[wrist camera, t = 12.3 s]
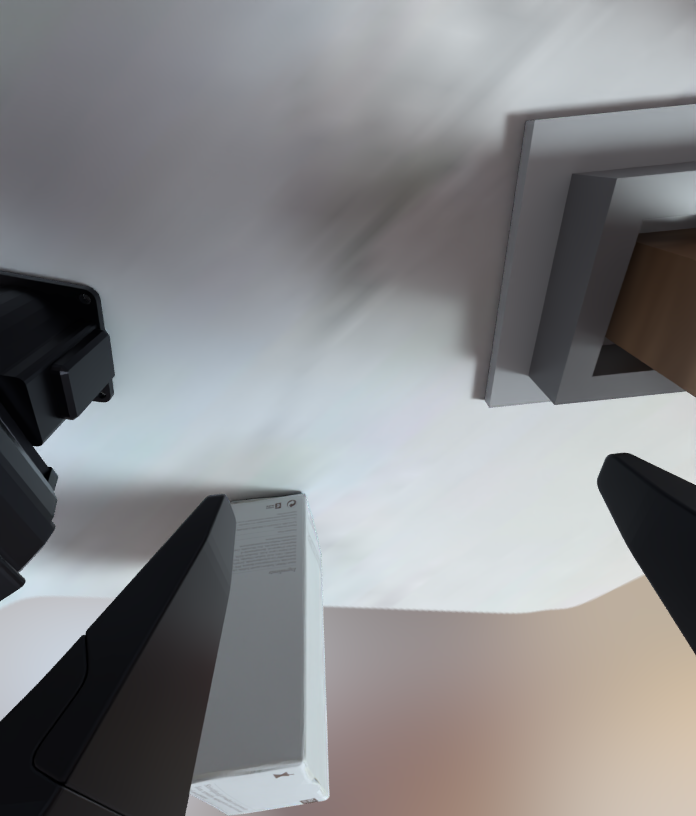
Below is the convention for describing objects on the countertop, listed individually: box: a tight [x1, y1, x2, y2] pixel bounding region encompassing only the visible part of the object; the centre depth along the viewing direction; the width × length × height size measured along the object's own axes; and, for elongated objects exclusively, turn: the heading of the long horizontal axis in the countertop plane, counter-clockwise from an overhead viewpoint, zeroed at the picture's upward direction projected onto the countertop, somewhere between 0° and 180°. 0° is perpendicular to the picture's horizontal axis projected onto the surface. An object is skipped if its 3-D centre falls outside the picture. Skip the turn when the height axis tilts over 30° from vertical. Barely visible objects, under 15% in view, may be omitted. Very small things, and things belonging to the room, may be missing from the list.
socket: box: [485, 104, 696, 408], centre depth 18 cm, size 14×14×4 cm
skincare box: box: [189, 494, 329, 815], centre depth 24 cm, size 8×6×15 cm
